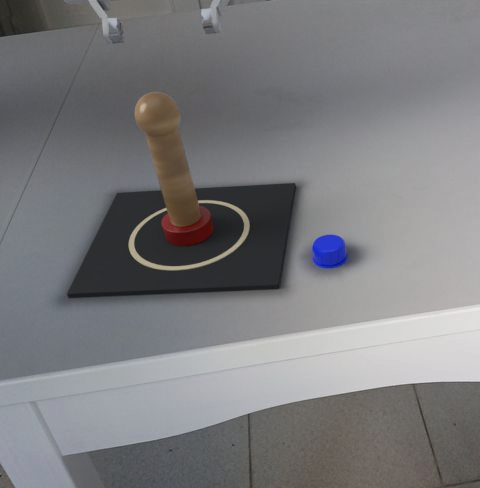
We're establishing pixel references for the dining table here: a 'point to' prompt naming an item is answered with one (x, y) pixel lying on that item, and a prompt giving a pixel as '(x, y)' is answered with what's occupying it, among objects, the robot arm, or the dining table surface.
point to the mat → (193, 256)
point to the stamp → (172, 170)
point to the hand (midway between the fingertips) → (163, 36)
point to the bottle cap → (329, 251)
